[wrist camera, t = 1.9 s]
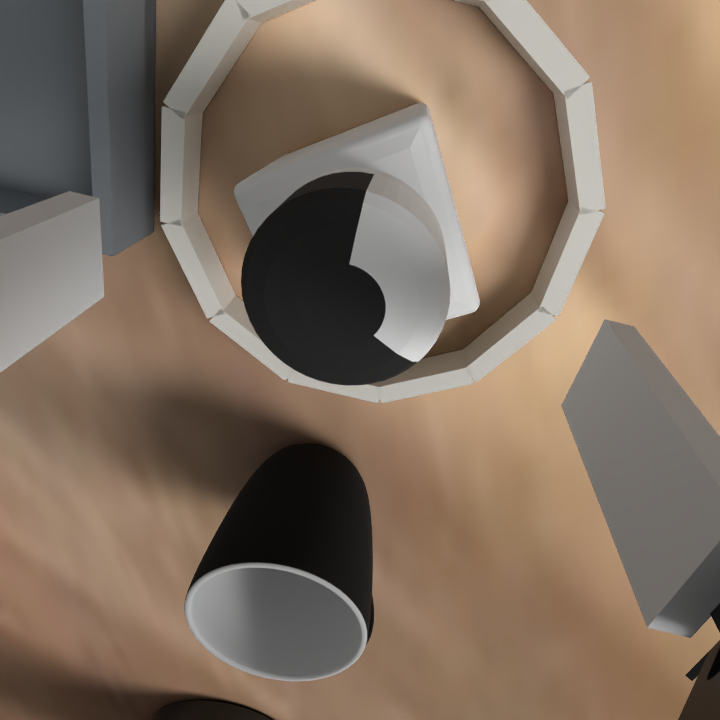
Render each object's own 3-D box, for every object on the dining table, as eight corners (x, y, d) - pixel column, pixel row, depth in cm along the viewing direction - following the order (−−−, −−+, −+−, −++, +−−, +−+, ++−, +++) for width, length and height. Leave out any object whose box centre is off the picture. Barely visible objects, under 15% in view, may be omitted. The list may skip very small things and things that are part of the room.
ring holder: (501, 412, 30) (506, 433, 28) (173, 334, 29) (158, 351, 28) (669, 20, 20) (692, 15, 18) (187, -98, 20) (165, -114, 18)
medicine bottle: (333, 295, 27) (276, 435, 17) (277, 157, 24) (166, 224, 14) (468, 253, 25) (500, 382, 15) (426, 99, 22) (429, 125, 12)
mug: (217, 458, 34) (144, 597, 25) (331, 402, 30) (295, 538, 22) (322, 573, 38) (291, 726, 29) (431, 534, 35) (434, 692, 26)
